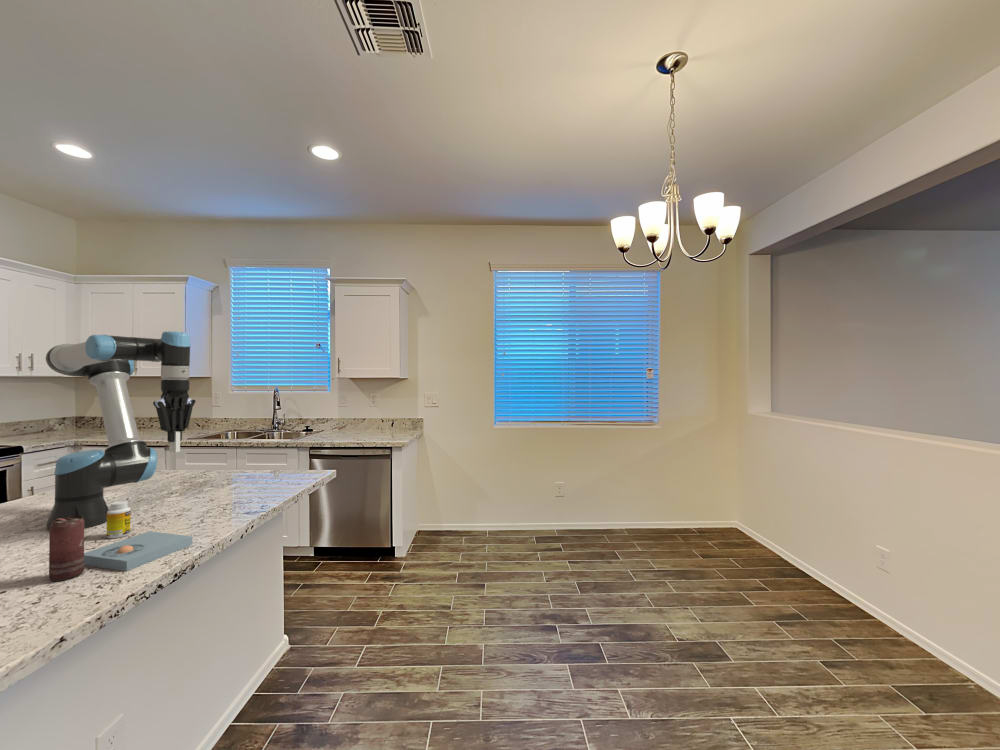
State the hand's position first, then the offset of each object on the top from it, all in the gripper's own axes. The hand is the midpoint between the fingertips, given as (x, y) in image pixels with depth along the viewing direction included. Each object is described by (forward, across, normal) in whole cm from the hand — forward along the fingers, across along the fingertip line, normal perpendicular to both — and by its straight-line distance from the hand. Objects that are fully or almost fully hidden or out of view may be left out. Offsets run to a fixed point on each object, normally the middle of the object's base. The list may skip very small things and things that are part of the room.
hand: (174, 451), depth 144 cm
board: (+24, -20, -12) cm, 34 cm away
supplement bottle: (+25, -11, +8) cm, 28 cm away
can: (+25, -35, -9) cm, 44 cm away
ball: (+23, -24, -12) cm, 35 cm away
